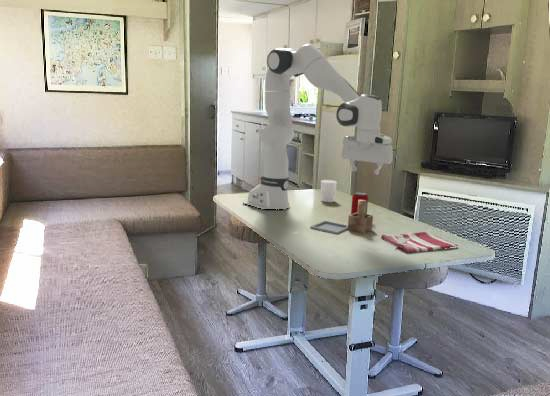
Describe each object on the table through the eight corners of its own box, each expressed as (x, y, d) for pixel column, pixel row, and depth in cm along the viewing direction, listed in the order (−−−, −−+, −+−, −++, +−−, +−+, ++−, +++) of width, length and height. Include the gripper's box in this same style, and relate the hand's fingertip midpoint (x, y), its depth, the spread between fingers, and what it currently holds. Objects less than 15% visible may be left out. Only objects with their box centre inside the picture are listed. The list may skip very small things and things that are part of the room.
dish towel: (379, 240, 193) (379, 234, 193) (429, 236, 202) (429, 230, 201) (405, 255, 178) (406, 247, 177) (458, 250, 187) (459, 243, 186)
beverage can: (365, 222, 216) (368, 195, 214) (350, 221, 217) (352, 193, 215) (366, 218, 223) (368, 192, 220) (350, 217, 224) (353, 190, 221)
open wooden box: (347, 231, 202) (348, 215, 200) (355, 227, 208) (356, 212, 206) (364, 235, 198) (365, 218, 196) (371, 231, 204) (373, 215, 202)
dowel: (354, 229, 202) (357, 200, 200) (357, 228, 205) (360, 199, 202) (361, 231, 200) (364, 201, 198) (365, 229, 203) (367, 200, 200)
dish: (310, 229, 201) (310, 226, 201) (324, 223, 211) (324, 220, 211) (337, 235, 195) (337, 232, 195) (350, 229, 205) (350, 226, 205)
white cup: (321, 198, 259) (323, 179, 257) (336, 200, 257) (338, 180, 255) (318, 201, 252) (319, 181, 250) (333, 203, 250) (335, 183, 248)
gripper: (339, 135, 198) (337, 170, 201) (389, 140, 187) (386, 177, 190) (347, 134, 203) (344, 168, 206) (395, 139, 192) (392, 175, 195)
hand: (365, 172), depth 197 cm, fingers open, 8 cm apart
